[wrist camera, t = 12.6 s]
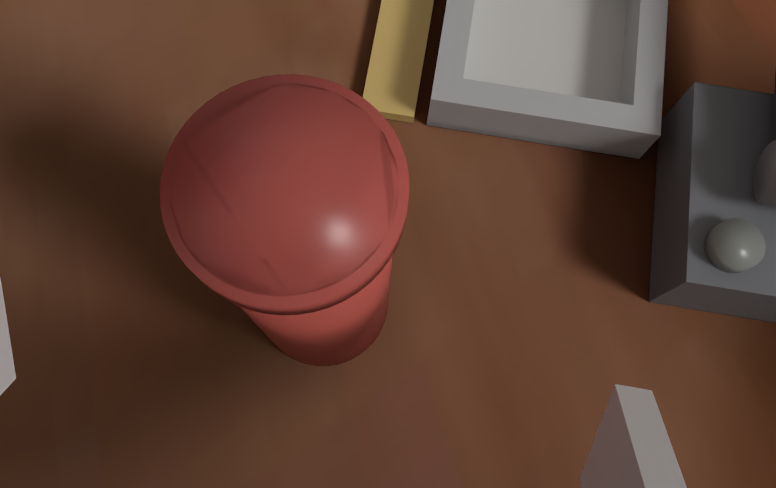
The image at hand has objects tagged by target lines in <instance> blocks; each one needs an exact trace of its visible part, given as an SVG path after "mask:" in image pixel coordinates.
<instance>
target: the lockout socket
mask: <svg viewBox="0 0 776 488" xmlns="http://www.w3.org/2000/svg"><path fill="white" fill-rule="evenodd" d="M433 4H434V0H382V1H381V6H380V11H379V16H378V22H377V27H376V32H375V37H374V42H373V47H372V52H371V57H370V62H369V67H368V73H367V78H366V83H365V88H364V93H363V98H364V99H365V100H367V101H368V102H369V103H370V104H371V105H372V106H374V107H375V108H376V109H377V110H378V111H379V112H380V113H381V115H382V116H383V117H384V118H385V119H391V120H397V121H403V122H410V123H413V122H414V116H415V110H416V104H417V98H418V92H419V86H420V81H421V75H422V69H423V63H424V57H425V51H426V45H427V39H428V34H429V28H430V22H431V16H432V10H433ZM667 12H668V0H447V3H446V9H445V15H444V21H443V27H442V33H441V39H440V46H439V52H438V58H437V64H436V70H435V76H434V82H433V88H432V94H431V100H430V106H429V113H428V119H427V125H428V126H435V127H441V128H447V129H453V130H460V131H466V132H472V133H479V134H485V135H491V136H497V137H504V138H510V139H516V140H523V141H529V142H535V143H541V144H548V145H554V146H560V147H566V148H573V149H579V150H585V151H592V152H598V153H604V154H610V155H617V156H623V157H629V158H636V159H640V158H641V156H642V155H643V154H644V153H645V152H646V151H647V150H648V149H649V148H650V147H651V146H652V144H653V143H654V142H655V141H656V140H657V139H658V138H659V137H660V136H661V120H662V102H663V84H664V66H665V48H666V30H667Z"/></svg>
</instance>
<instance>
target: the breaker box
mask: <svg viewBox="0 0 776 488" xmlns="http://www.w3.org/2000/svg"><path fill="white" fill-rule="evenodd" d="M773 108H774V94H768V93H762V92H756V91H749V90H743V89H736V88H730V87H723V86H717V85H711V84H704V83H698V82H694V83H693V84H692V85H691V87H690V88H689V89H688V90H687V91H686V92H685V93H684V95H683V96H682V97H681V98H680V99H679V100H678V101H677V103H676V104H675V105H674V106H673V107H672V108H671V109H670V111H669V112H668V113H667V114H666V115H665V116H664V117H663V119H662V120H661V136H660V137H659V138H658V150H657V167H656V185H655V202H654V220H653V238H652V255H651V273H650V291H649V302H653V303H659V304H665V305H671V306H677V307H683V308H689V309H695V310H702V311H708V312H714V313H720V314H726V315H732V316H738V317H744V318H750V319H756V320H762V321H768V322H774V323H776V207H774V206H767V205H762V204H759V203H758V202H757V200H756V199H755V196H754V192H753V178H754V172H755V168H756V165H757V162H758V160H759V158H760V156H761V154H762V152H763V151H764V149H765V148H766V147H767V145H769V144H770V143H771V141H772V124H773Z"/></svg>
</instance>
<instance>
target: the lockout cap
mask: <svg viewBox="0 0 776 488" xmlns="http://www.w3.org/2000/svg"><path fill="white" fill-rule="evenodd" d="M409 190H410V189H409V173H408V167H407V162H406V158H405V155H404V152H403V149H402V146H401V144H400V142H399V140H398V138H397V136H396V134H395V132H394V130H393V129H392V128H391V126H390V125H389V123H388V122H387V120H386V119H385V118H384V117H383V116H382V115H381V113H380V112H379V111H378V110H377V109H376V108H375V107H374V106H372V105H371V104H370V103H369V102H368V101H367V100H365V99H364V98H362V97H361V96H359V95H358V94H356V93H355V92H353V91H352V90H350V89H348V88H346V87H343V86H341V85H339V84H337V83H334V82H331V81H328V80H325V79H321V78H317V77H312V76H305V75H295V74H291V75H273V76H265V77H260V78H256V79H253V80H249V81H246V82H243V83H241V84H238V85H235V86H233V87H231V88H229V89H227V90H225V91H223V92H221V93H219V94H218V95H217V96H215V97H214V98H212V99H211V100H209V101H208V102H206V103H205V104H204V105H203V106H202V107H201V108H199V109H198V110H197V111H196V112H195V113H194V114H193V115H192V116H191V117H190V119H189V120H188V121H187V122H186V123H185V124H184V126H183V127H182V128H181V130H180V131H179V133H178V134H177V136H176V137H175V139H174V141H173V143H172V145H171V147H170V149H169V151H168V154H167V157H166V160H165V162H164V165H163V170H162V175H161V180H160V194H159V196H160V209H161V215H162V219H163V224H164V227H165V230H166V232H167V235H168V238H169V240H170V242H171V244H172V246H173V247H174V249H175V251H176V253H177V254H178V256H179V257H180V258H181V260H182V261H183V262H184V264H185V265H186V266H187V267H188V268H189V269H190V270H191V271H192V272H193V273H194V274H195V275H196V276H197V277H198V278H199V279H200V280H201V281H202V282H203V283H204V284H205V285H206V286H207V287H208V288H209V289H211V290H212V291H213V292H215V293H216V294H217V295H219V296H220V297H222V298H224V299H225V300H227V301H229V302H231V303H233V304H235V305H237V306H239V307H240V308H241V309H242V310H243V311H244V312H245V313H246V314H247V315H248V316H249V317H250V319H251V320H252V321H253V322H254V323H255V324H256V325H257V326H258V327H259V328H260V329H261V330H262V331H263V332H264V333H265V335H266V336H267V337H268V338H269V339H270V340H271V341H272V342H273V343H274V344H275V345H276V346H277V347H278V348H279V349H280V350H281V351H282V352H283V353H285V354H286V355H287V356H289V357H291V358H293V359H294V360H297V361H299V362H302V363H305V364H309V365H315V366H331V365H337V364H340V363H344V362H346V361H349V360H351V359H353V358H355V357H356V356H358V355H360V354H361V353H362V352H364V351H365V350H366V349H367V348H368V347H369V346H370V345H371V344H372V343H373V342H374V340H375V339H376V338H377V336H378V335H379V333H380V331H381V329H382V327H383V324H384V322H385V318H386V314H387V306H388V296H389V286H390V276H391V266H392V256H393V253H394V252H395V250H396V248H397V246H398V243H399V241H400V238H401V236H402V233H403V229H404V225H405V221H406V216H407V209H408V200H409Z"/></svg>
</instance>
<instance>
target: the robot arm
mask: <svg viewBox="0 0 776 488" xmlns="http://www.w3.org/2000/svg"><path fill="white" fill-rule="evenodd" d="M15 379H16V374H15V368H14V361H13V355H12V348H11V342H10V336H9V329H8V323H7V316H6V310H5V304H4V297H3V291H2V284H1V278H0V395H1V394H2V393H3V392H4V391H5V390H6V389H7V388H8V387H9V386H10V385H11V383H12V382H13V381H14V380H15ZM580 483H581V488H687V487H686V484H685V481H684V479H683V476H682V473H681V470H680V467H679V465H678V462H677V459H676V456H675V454H674V451H673V448H672V445H671V442H670V440H669V437H668V434H667V431H666V428H665V426H664V423H663V420H662V417H661V415H660V412H659V409H658V406H657V403H656V401H655V398H654V395H653V392H652V390H646V389H640V388H635V387H629V386H623V385H617V384H615V385H614V388H613V391H612V393H611V396H610V399H609V401H608V404H607V407H606V409H605V412H604V415H603V418H602V420H601V423H600V426H599V428H598V431H597V434H596V436H595V439H594V442H593V444H592V447H591V450H590V452H589V455H588V458H587V460H586V463H585V466H584V468H583V471H582V474H581V476H580Z"/></svg>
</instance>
